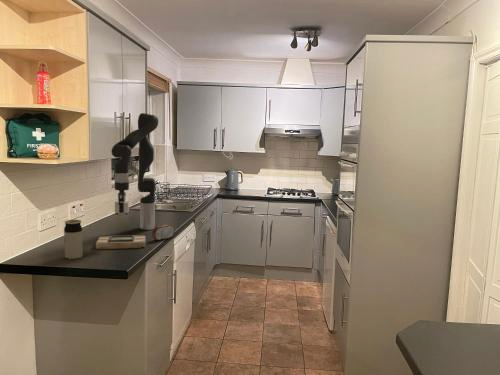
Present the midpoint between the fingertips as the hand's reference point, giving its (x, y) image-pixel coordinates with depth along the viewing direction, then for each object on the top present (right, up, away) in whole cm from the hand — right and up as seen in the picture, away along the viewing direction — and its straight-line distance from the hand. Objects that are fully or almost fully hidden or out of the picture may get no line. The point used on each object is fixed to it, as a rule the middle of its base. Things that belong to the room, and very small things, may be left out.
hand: (121, 211), depth 218 cm
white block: (0, -1, 0) cm, 1 cm away
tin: (+20, -17, +15) cm, 31 cm away
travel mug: (-16, -21, -24) cm, 36 cm away
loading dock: (0, -18, 0) cm, 18 cm away
